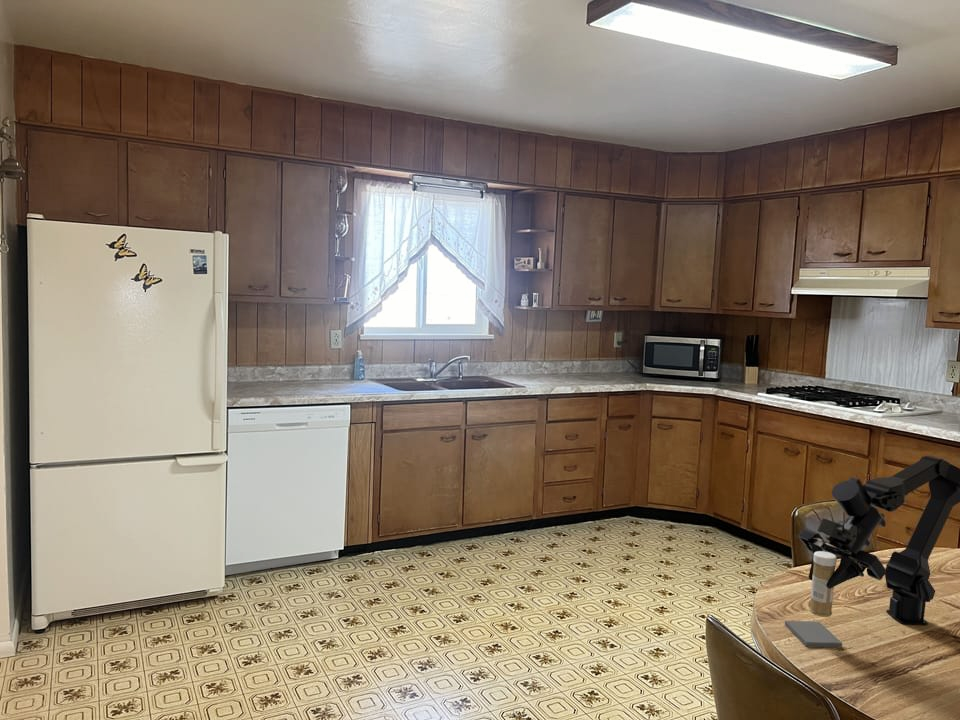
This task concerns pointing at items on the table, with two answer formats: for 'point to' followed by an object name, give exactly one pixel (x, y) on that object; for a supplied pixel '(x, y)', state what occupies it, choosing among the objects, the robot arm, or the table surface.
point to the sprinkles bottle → (822, 583)
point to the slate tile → (813, 634)
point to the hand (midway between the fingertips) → (818, 583)
